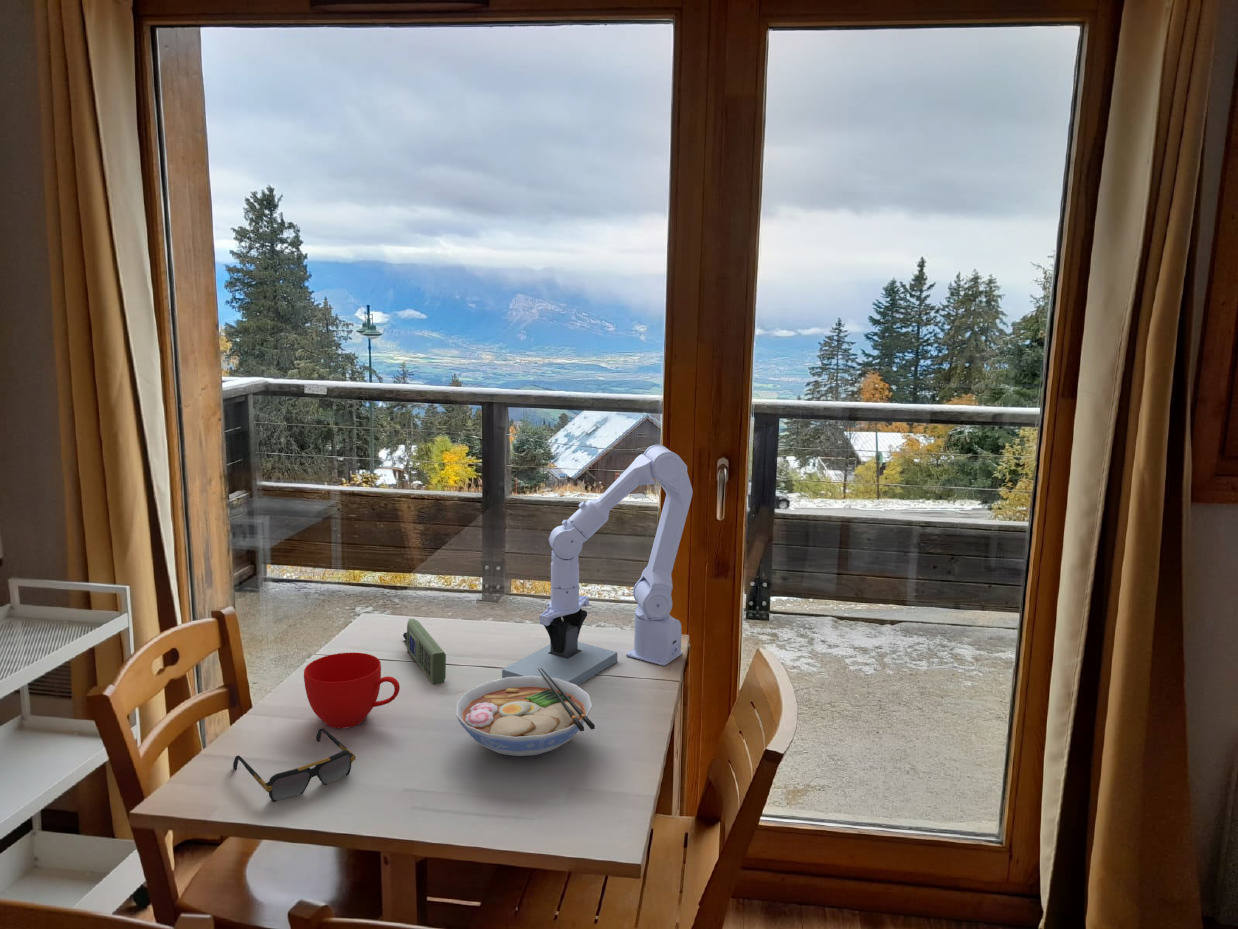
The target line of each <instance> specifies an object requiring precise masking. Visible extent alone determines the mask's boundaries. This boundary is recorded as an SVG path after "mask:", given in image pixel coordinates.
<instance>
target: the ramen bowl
mask: <svg viewBox="0 0 1238 929" xmlns="http://www.w3.org/2000/svg"><path fill="white" fill-rule="evenodd" d="M538 670H539V668H538ZM541 670H542V671H543V672H544V673H545V675H546V676H547V677H545V676H544V675H543V674H542V672H541V671H540V670H539V672H540V673H541V675H542V676H543V677H540V676H519V677H506V678H499V679H494V680H490V681H486V682H483V683H481V684H479V685H477V686H474V687H473V688H471V689H469V690H467V691H465V692H464V693H463V694H462V696H461V697H459V699H458V700H457V701H456V703H455V717H456V718H457V721H458V722H459V724H460V725H461V726H462V727H463V729H464V730H465V731H466V733H468V734H469V735H470V736H471V737H472V738H473V739H474V740H475V741H476V742H477V743H478V744H479V745H480V746H481V747H484V748H486V749H488V750H491V751H493V752H496V753H498V754H501V755H507V756H513V757H514V756H515V757H525V756H537V755H540V754H544V753H548V752H550V751H554V750H555V749H558V748H560V747H561V746H562V745H564V744H566V743H567V742H569V741H570V740H572V739H573V738H574V737H575V736H576V735H577V733H578V732H584V731H585V727H584V723H585V724H586V725H587V726H588V728H589V729H590V730H595V729H596V728H595V727H596V726H595V724H594V722H593V721H592V720H591V719H590V718H589V717H588V716H589V715H590V712H591V710H592V708H593V703H592V699H591V697H590V693H588V692H586V691H585V690H584V689H583V688H581V687H580V686H579V685H578V686H577V685H575V684H572V683H569V682H566V681H563V680H560V679H557V678H550V677H549V676H548V675H547V673H546V672H545V671H544V670H543V669H542V668H541Z"/></svg>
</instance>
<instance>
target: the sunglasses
mask: <svg viewBox="0 0 1238 929" xmlns="http://www.w3.org/2000/svg"><path fill="white" fill-rule="evenodd" d="M322 733H323V734H324V735H326V737H328V739H329V740H330V741H331V742H333V744H335V746H337V747H338V748H339V749H340V750H341V751H338V752H336V753H335V754H333V755H331V756H328V757H325V758H322V759H318V760H316V761H313V762H310V763H308V764H305V765H302V766H300V767H297V768H294V769H290V770H286V771H282V772H277V773H275V774H273V775H272V776H271V777H270V778H269V780H268V781H267V782H265V781H264V780H263V778H262V777H261V776H260V774H258V773H257V772H256V771H255V770H254V769H253V768H252V766H250V764H249V763H248V762H247V761H246V760H245V759H243V757H242V756H241V755H239V754H238V755H236V756H235V758H234V760H233V763H232V769H233V770H234V771H237V770H238V764H239V761H240V762H241V763H242V765H243V766H244V768H245V769H246V770H247V771H248V772H249V774H250V775H251V776H252V777H253V778H254V780H255V781H257V783H258V784H259V786H261V787H262V788H263V790H264V791H266V792H267V793H268V797H269V798H270V800H271V801H272V802H274V803H276V801H281V800H284V799H289V798H291V797H296V796H298V795H303V794H304V792H305V791H306V790H307V787H308V786H309V784H310V781H311V779H312V778H314V777H317V779H319V781H320V782H321V783H322V785H323V786H327V785H328V784H329V783H332V782H335V781H337V780H338V779H339V780H340V779H341V778H343V777H344V776H345V777H346V776H349V774H350V772H351V769H352V763H353V762H355V761H356V754H354V753H353V751H351V750H350V749H348V747H346V746H345V745H344V744H343V743H342V742H341V741H339V740H338V739H337V738H336V737H335V736H334V735H332V734H331V733H330V732H328V730H327V729H325V728H324V727H320V728H319V729H318V730H317V733H316V735H315V736H316V737H315V740H316V742H317V743H320V742H321V738H322ZM288 797H289V798H288Z"/></svg>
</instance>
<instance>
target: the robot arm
mask: <svg viewBox="0 0 1238 929" xmlns="http://www.w3.org/2000/svg"><path fill="white" fill-rule="evenodd" d="M654 479H656V480H657V481H658V483H659V484H660V487H661V488H662V489H663V491H664V492H665V498H664V502H663V506H662V508H661V509H662V510H661V515H660V518H659V522H658V525H657V529H656V532H655V537H654V541H653V544H652V548H651V552H650V556H649V560H648V563H647V566H646V567H645V568H644V569H643V570H642V573H641V576H640V578H639V579H638V581H637V582H636V583H635V585H634V586H633V589H632V595H633V599H634V600H635V601H636V603H637V606H636V608H635V610H634V640H633V642H634V646H633V649H630V650H629V651H628V652H626V653H625V656H626V657H629V658H634V659H637V660H641V661H644V662H648V663H650V664H651V663H652V664H655V665H660V666H667V665H668V664H669V663H671V662H672V661H674V660H675V659H677V658H678V657H680V656H681V655H682V654H684V653H683V651H682V623H681V621H680V620H679V619H676V618H675V617H673V616H672V615H670V613H671V611H672V609H673V599H672V592H673V589H674V588H673V577H672V574H673V569H674V565H675V561H676V557H677V555H678V550H679V547H680V542H681V539H682V536H683V532H684V528H685V526H686V524H685V523H686V520H687V517H688V514H689V509H690V505H691V502H692V497H693V487H692V483H691V480H690V477H689V474H688V465H687V464H686V463H685V462H684V461H683V459H682V458H681V457H680V455H678V454H677V453H675V452H673V451H671V450H669V448H667V447H666V446H664V445H661V444H654V445H651V446H648V447H647V449H645V451H644V452H643V453H641V454H639V455H638V456H636V457H635V459H634V460H633V461H632V463H630V465H629V466H628V467H627V468H626V469H625V470H624V471H623V472H622V473H621V474H620V475H619V477H617V479H616V480H615V481H614V482H613V483H612V484H611V485H610V486H609V487H608V488H607V489H606V490H605V491H604V492H603V493H602V494H601V495H600V496H599V497H598V498H595V499H594V498H593V499H592V498H591V499H588V500H587V501H586V502H584V501H581V502H580V503H579V504H578V507H579V508H578V509H577V510H576V511H575V512H574V513H573V514H572V515H571V516H569V518H567V519H563V520H562V522H561V524H562V525H561V524H560V525H558V526H556V527H555V528H553V529H552V531H551V532H550V534H549V535H550V536H549V537H548V538H547V539H548V544H549V546H550V547H551V548H552V550H551V556H550V559H551V562H550V601H548V602H547V603H546V605H547V608H546V609H545V610H544V611H543V612H542V613H540V614H539V619H538V620H539V625H543V627H544V628H545V630H546V631H547V634H548V636H549V640H551V644H552V647H553V651H554V652H558V653H563V650H564V645H565V635H566V631H567V628H568V626H569V625H573V626H577V627H578V637H579V636H580V632H581V628H582V626H583V624H584V621H585V620H586V618H587V616H588V611H587V610H586V609H585V610H583V609H582V608H583V607H585V608H586V607H589V606H590V596H587V595H582V594H580V563H579V555H580V553H581V552H582V550H583V544H584V543H585V542H587V541H588V540H589V539H591V537H592V536H593V535H594V534H596V532H597V531H598V530H599V529H600V528H602V526H604V525H605V524H606V523H607V522H608V521H609V518H610V516H609V515H610V511H611V510H612V509H613V508H614V507H616V506H617V505H618V504H619V503H620V502H621V501H622V500H624V499H625V498H626V497H628V495H630V494H631V493H632V492H633V491H634V490H636V488H638V487H639V486H646V485H648V486H649V485H654V484H656V482H655V480H654Z"/></svg>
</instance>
